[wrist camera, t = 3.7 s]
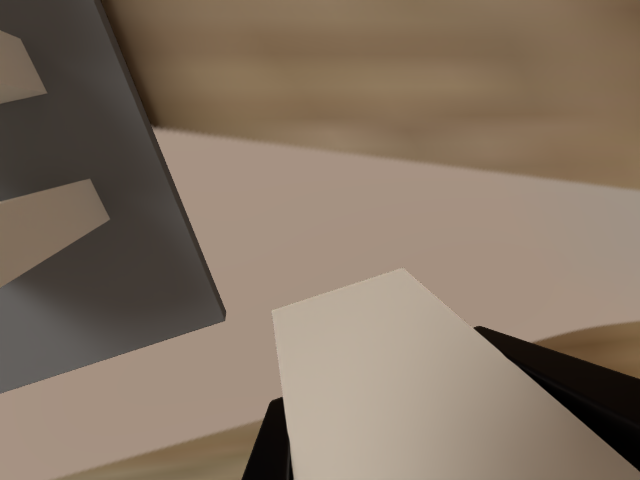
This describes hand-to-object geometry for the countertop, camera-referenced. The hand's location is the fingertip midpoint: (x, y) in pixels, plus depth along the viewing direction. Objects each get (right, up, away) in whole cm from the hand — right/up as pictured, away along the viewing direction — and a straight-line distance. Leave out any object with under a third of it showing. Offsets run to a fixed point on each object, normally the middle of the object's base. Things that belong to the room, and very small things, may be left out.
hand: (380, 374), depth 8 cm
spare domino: (-1, +1, +3) cm, 4 cm away
